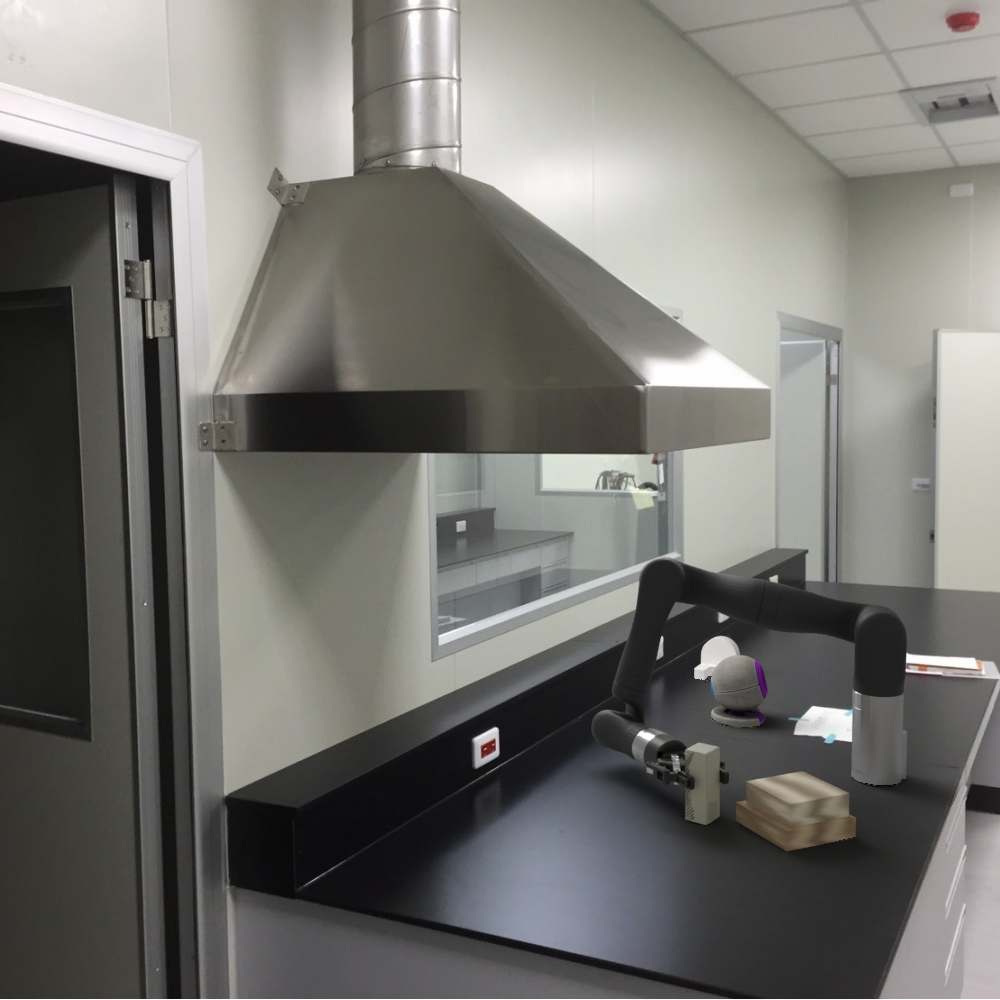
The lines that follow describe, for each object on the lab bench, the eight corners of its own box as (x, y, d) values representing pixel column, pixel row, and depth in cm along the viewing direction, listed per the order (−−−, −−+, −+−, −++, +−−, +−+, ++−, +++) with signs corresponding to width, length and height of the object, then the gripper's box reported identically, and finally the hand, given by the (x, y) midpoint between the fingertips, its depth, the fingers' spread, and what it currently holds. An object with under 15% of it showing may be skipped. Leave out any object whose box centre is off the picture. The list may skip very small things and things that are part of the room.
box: (698, 811, 189) (698, 741, 188) (720, 817, 186) (721, 746, 185) (683, 820, 185) (683, 748, 184) (706, 826, 182) (706, 753, 181)
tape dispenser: (746, 671, 291) (746, 632, 290) (729, 686, 275) (729, 645, 274) (711, 667, 296) (712, 629, 295) (693, 682, 280) (693, 642, 279)
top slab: (802, 793, 188) (802, 771, 188) (848, 816, 177) (849, 793, 177) (746, 803, 183) (746, 781, 183) (790, 828, 172) (790, 804, 172)
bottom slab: (801, 812, 190) (801, 790, 189) (855, 840, 177) (855, 817, 177) (736, 824, 184) (736, 802, 184) (786, 855, 172) (787, 831, 171)
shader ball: (766, 729, 237) (767, 663, 236) (708, 725, 241) (708, 660, 239) (768, 713, 250) (768, 650, 248) (712, 710, 253) (713, 648, 252)
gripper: (626, 738, 195) (674, 766, 179) (693, 728, 200) (745, 754, 185) (626, 778, 196) (674, 809, 180) (692, 767, 201) (745, 796, 185)
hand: (710, 781), depth 183 cm, fingers closed on box, 6 cm apart
